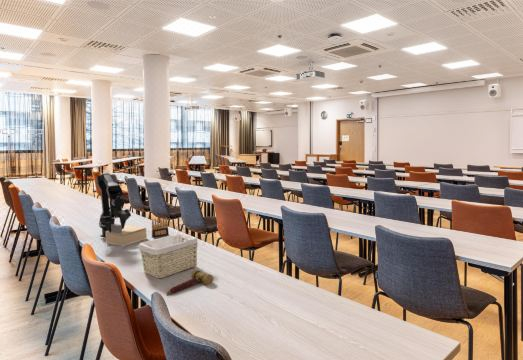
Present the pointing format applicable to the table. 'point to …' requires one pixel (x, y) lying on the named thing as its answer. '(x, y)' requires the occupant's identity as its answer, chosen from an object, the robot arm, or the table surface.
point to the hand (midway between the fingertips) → (116, 230)
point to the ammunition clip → (159, 228)
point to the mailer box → (126, 238)
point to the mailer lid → (127, 229)
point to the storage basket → (169, 255)
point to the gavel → (193, 281)
